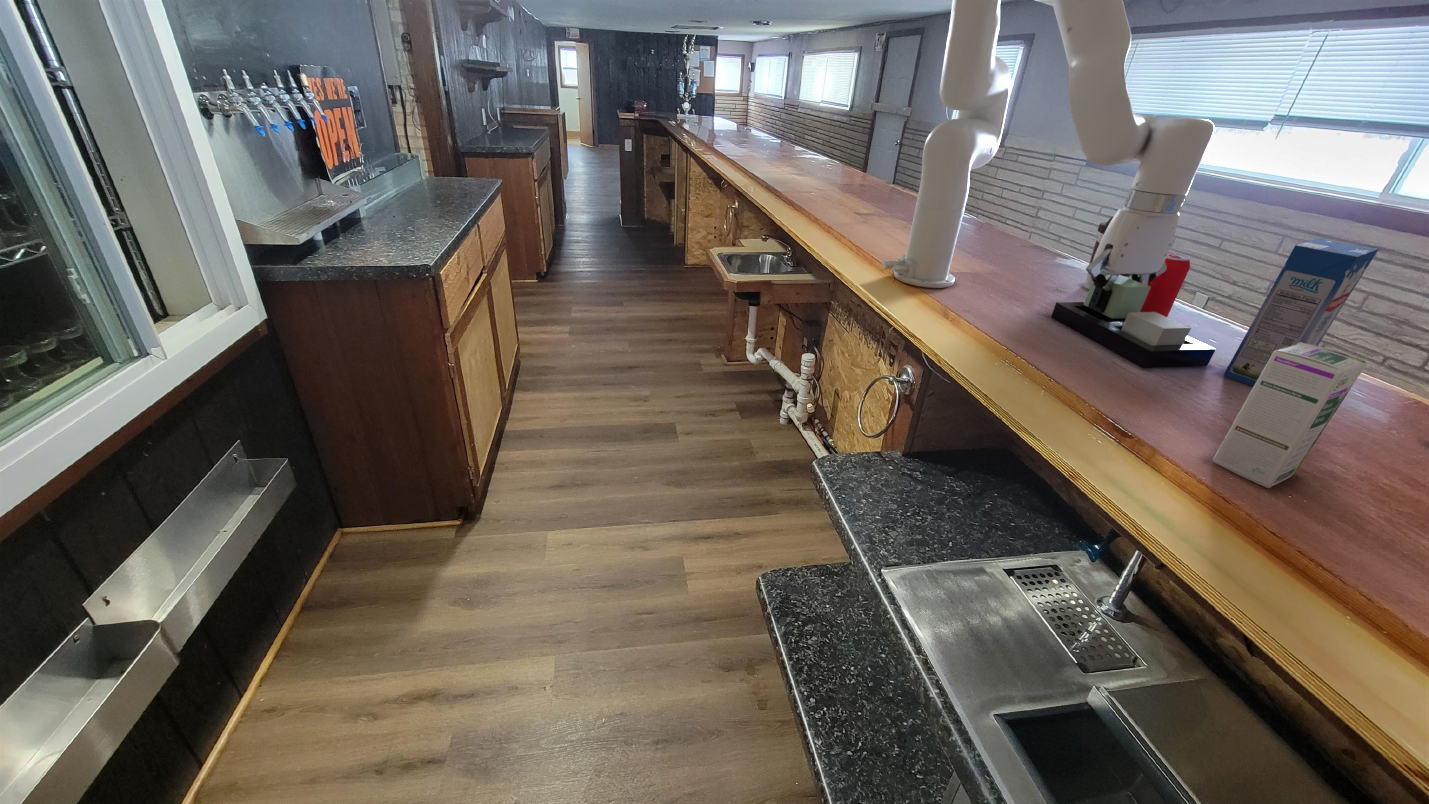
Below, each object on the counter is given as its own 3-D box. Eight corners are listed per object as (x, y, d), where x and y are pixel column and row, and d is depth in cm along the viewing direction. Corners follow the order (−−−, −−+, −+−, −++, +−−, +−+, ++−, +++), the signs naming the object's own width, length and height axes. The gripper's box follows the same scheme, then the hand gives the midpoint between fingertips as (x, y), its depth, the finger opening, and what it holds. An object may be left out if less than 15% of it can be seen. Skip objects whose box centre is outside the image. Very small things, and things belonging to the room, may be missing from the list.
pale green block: (1112, 318, 97) (1125, 287, 94) (1083, 304, 103) (1094, 274, 100) (1137, 318, 97) (1151, 286, 95) (1107, 304, 103) (1119, 274, 101)
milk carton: (1273, 393, 82) (1357, 256, 72) (1222, 375, 86) (1295, 245, 76) (1297, 378, 87) (1379, 248, 77) (1248, 362, 91) (1319, 238, 81)
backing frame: (1142, 368, 88) (1150, 351, 86) (1050, 317, 106) (1056, 302, 105) (1207, 366, 89) (1216, 348, 88) (1105, 316, 108) (1111, 301, 106)
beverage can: (1153, 312, 111) (1181, 251, 105) (1172, 324, 105) (1202, 260, 100) (1120, 310, 111) (1146, 249, 105) (1137, 321, 106) (1165, 258, 100)
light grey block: (1148, 361, 90) (1163, 328, 87) (1115, 343, 96) (1128, 312, 93) (1175, 360, 91) (1191, 327, 88) (1140, 342, 97) (1154, 311, 94)
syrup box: (1269, 490, 61) (1349, 371, 54) (1208, 460, 66) (1274, 347, 58) (1293, 476, 64) (1373, 361, 56) (1232, 449, 68) (1299, 339, 61)
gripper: (1178, 199, 95) (1134, 301, 104) (1089, 198, 93) (1052, 303, 102) (1219, 208, 89) (1169, 316, 98) (1125, 207, 86) (1082, 318, 95)
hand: (1110, 308), depth 100 cm, fingers closed on pale green block, 5 cm apart
